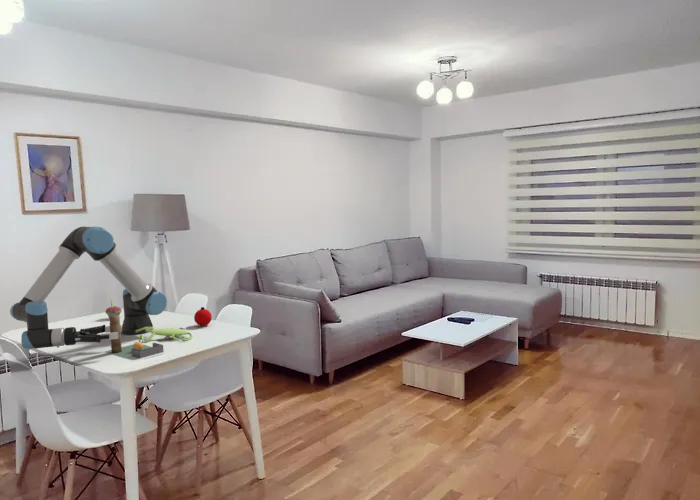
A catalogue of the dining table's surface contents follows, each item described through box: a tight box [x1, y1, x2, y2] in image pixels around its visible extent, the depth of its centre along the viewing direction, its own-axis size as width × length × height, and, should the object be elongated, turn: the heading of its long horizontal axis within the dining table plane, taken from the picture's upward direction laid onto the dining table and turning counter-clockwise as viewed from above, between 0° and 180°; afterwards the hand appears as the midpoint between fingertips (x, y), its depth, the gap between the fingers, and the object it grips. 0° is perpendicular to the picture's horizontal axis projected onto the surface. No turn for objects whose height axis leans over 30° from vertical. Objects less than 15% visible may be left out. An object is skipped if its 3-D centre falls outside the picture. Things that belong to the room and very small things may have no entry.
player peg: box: [108, 315, 122, 353], centre depth 221 cm, size 4×4×16 cm
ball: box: [132, 341, 144, 350], centre depth 222 cm, size 4×4×4 cm
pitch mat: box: [104, 343, 152, 359], centre depth 224 cm, size 16×16×1 cm
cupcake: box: [105, 299, 123, 318], centre depth 291 cm, size 9×8×12 cm
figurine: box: [136, 326, 193, 344], centre depth 246 cm, size 18×27×6 cm
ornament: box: [193, 306, 213, 327], centre depth 270 cm, size 9×9×10 cm
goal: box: [131, 342, 164, 359], centre depth 218 cm, size 6×11×4 cm, turn 144°
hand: (119, 331), depth 221 cm, fingers open, 13 cm apart
